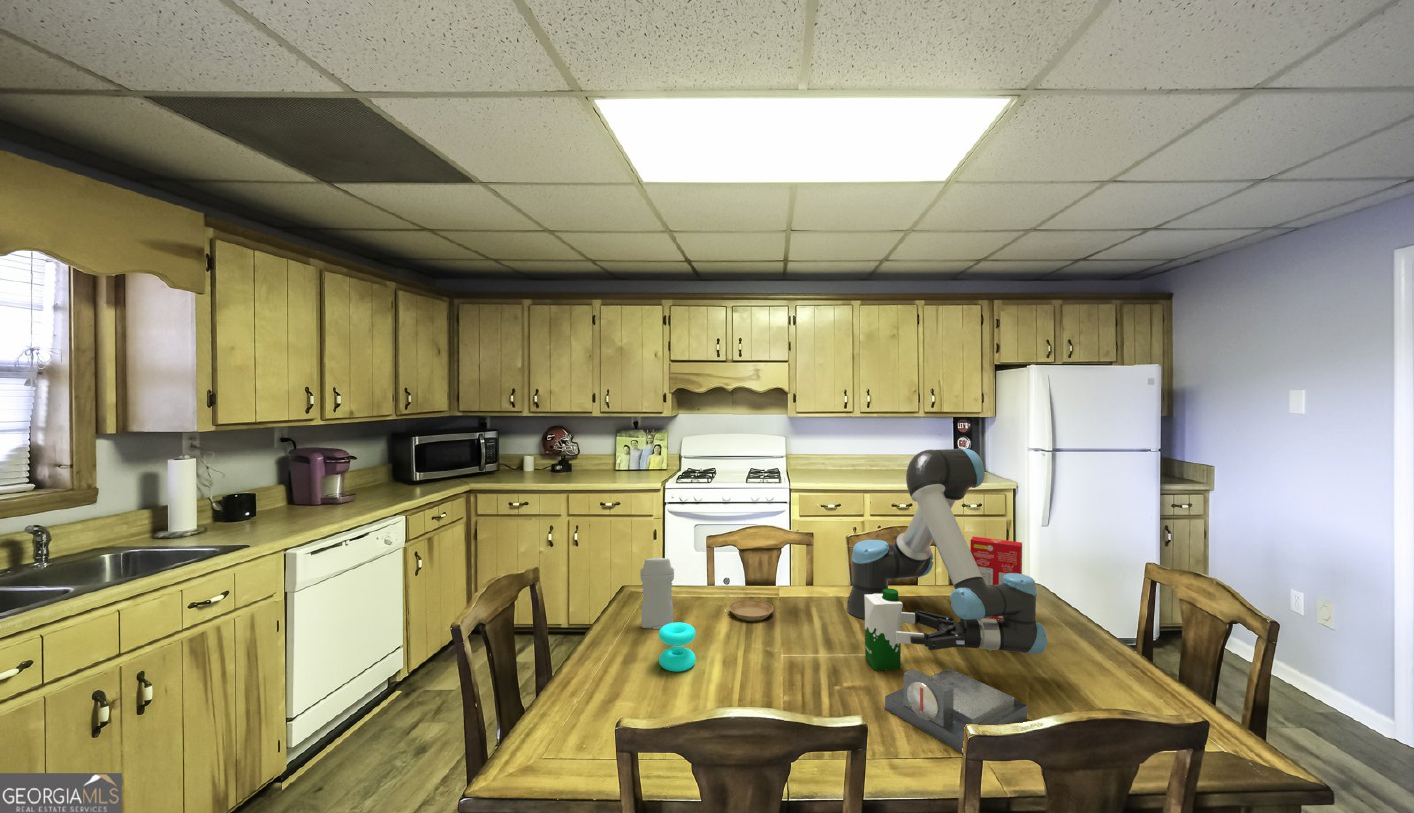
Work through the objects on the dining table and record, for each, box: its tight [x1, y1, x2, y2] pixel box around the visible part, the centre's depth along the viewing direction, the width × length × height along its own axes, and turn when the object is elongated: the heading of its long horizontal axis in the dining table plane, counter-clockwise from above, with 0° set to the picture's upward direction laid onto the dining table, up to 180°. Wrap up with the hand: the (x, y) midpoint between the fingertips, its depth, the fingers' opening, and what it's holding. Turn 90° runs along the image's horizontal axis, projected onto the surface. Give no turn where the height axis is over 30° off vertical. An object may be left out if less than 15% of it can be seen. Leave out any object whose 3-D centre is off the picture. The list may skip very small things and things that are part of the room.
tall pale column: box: [639, 557, 675, 630], centre depth 177 cm, size 11×4×22 cm, turn 95°
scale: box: [884, 668, 1028, 754], centre depth 129 cm, size 20×24×10 cm
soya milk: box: [864, 587, 903, 671], centre depth 153 cm, size 9×9×20 cm
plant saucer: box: [728, 599, 774, 622], centre depth 187 cm, size 15×15×3 cm
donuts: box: [658, 621, 697, 672], centre depth 152 cm, size 10×10×10 cm
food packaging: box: [969, 535, 1023, 620], centre depth 186 cm, size 15×5×25 cm, turn 58°
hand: (893, 626), depth 151 cm, fingers open, 13 cm apart
